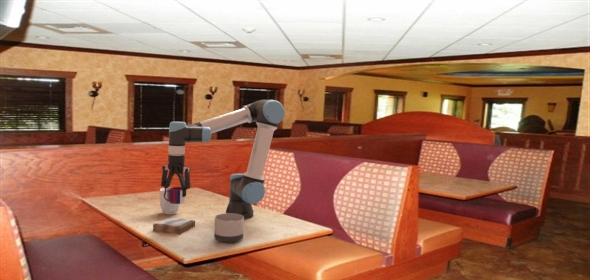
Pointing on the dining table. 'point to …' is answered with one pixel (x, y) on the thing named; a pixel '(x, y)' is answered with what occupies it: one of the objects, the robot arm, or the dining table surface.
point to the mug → (167, 204)
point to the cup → (174, 195)
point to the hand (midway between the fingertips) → (175, 202)
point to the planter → (229, 227)
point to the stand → (174, 225)
